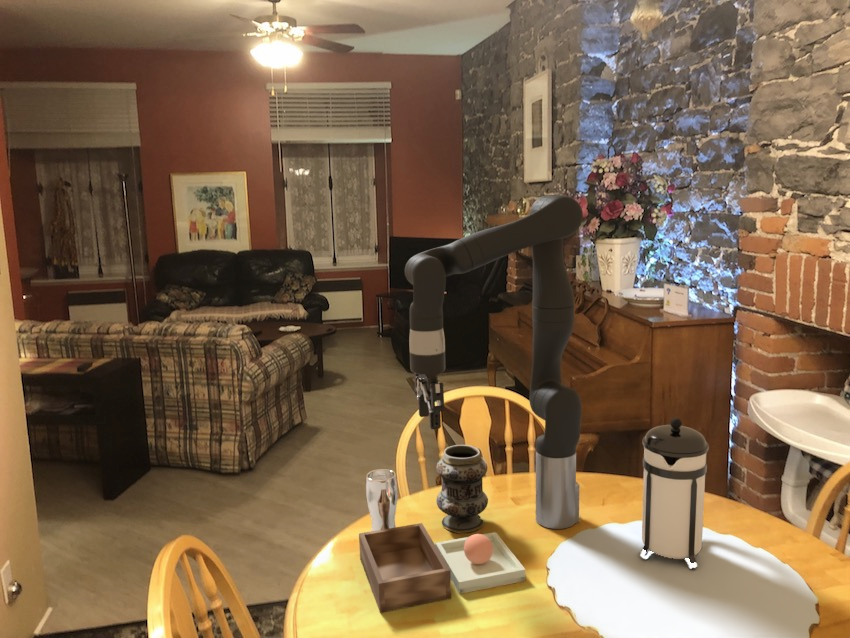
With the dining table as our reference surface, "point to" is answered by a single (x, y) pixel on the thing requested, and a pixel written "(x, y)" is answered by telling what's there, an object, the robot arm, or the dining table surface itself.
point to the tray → (481, 565)
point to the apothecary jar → (462, 488)
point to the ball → (478, 549)
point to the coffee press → (673, 490)
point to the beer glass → (382, 498)
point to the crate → (404, 567)
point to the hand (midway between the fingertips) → (429, 422)
